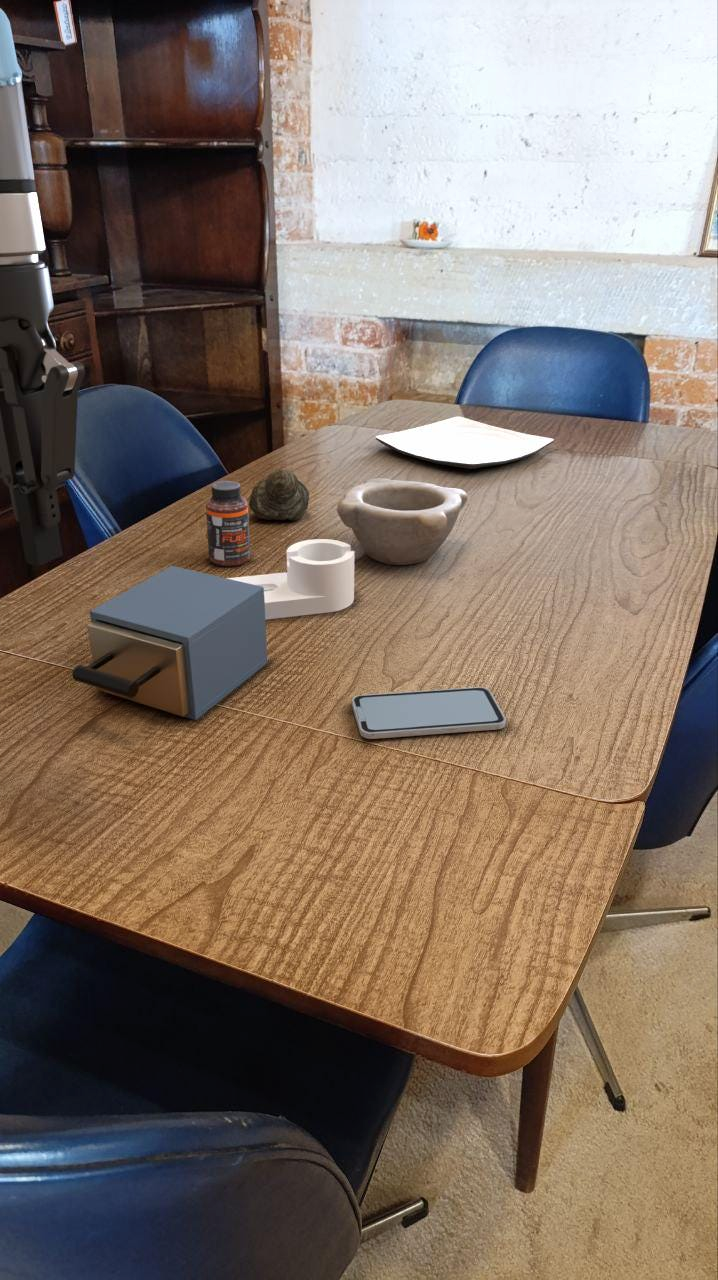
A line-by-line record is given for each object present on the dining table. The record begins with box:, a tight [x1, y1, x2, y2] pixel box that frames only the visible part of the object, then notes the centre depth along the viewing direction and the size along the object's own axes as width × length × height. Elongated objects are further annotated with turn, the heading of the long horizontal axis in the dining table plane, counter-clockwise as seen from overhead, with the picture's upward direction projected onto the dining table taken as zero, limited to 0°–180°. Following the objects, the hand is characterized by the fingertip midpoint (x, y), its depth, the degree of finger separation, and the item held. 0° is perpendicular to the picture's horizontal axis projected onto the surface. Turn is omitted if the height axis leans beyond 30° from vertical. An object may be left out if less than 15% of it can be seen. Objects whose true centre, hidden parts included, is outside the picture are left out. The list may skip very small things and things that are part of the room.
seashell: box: [248, 469, 310, 522], centre depth 142 cm, size 11×12×10 cm
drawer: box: [71, 621, 190, 718], centre depth 92 cm, size 18×11×8 cm, turn 153°
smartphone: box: [351, 686, 507, 740], centre depth 90 cm, size 7×1×15 cm
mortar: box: [336, 477, 469, 566], centre depth 128 cm, size 17×17×9 cm
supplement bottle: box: [205, 480, 251, 567], centre depth 125 cm, size 6×6×11 cm
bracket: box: [226, 538, 355, 621], centre depth 113 cm, size 20×9×7 cm, turn 105°
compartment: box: [89, 565, 268, 721], centre depth 95 cm, size 14×13×10 cm
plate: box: [375, 416, 555, 469], centre depth 178 cm, size 29×29×3 cm
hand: (44, 558), depth 75 cm, fingers closed
